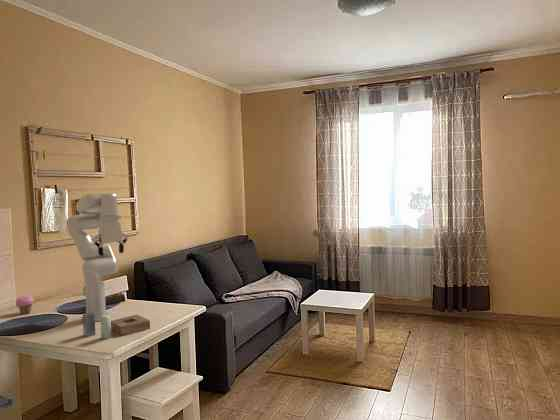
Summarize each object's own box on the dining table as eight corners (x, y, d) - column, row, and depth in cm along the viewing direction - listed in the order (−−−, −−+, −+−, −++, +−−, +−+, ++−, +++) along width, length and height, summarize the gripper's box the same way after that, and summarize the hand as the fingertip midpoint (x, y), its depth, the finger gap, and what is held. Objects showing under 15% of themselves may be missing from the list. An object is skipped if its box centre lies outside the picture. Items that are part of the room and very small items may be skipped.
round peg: (99, 337, 193) (98, 316, 193) (109, 335, 196) (108, 314, 196) (103, 340, 190) (102, 318, 190) (113, 337, 193) (112, 316, 193)
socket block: (109, 329, 205) (109, 321, 205) (137, 322, 215) (136, 314, 215) (121, 335, 195) (121, 327, 195) (150, 328, 205) (149, 320, 205)
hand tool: (122, 300, 260) (121, 291, 259) (125, 301, 256) (125, 292, 256) (84, 309, 243) (84, 299, 243) (88, 310, 240) (87, 301, 239)
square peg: (86, 337, 195) (85, 315, 194) (83, 334, 198) (82, 314, 197) (95, 334, 198) (94, 313, 197) (92, 332, 201) (91, 312, 200)
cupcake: (33, 314, 234) (32, 296, 234) (15, 316, 231) (14, 298, 230) (35, 310, 242) (34, 292, 242) (17, 312, 239) (16, 294, 238)
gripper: (124, 217, 212) (125, 251, 213) (88, 220, 200) (90, 255, 201) (130, 218, 207) (131, 252, 208) (94, 220, 195) (96, 257, 196)
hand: (111, 254), depth 204 cm, fingers open, 9 cm apart
